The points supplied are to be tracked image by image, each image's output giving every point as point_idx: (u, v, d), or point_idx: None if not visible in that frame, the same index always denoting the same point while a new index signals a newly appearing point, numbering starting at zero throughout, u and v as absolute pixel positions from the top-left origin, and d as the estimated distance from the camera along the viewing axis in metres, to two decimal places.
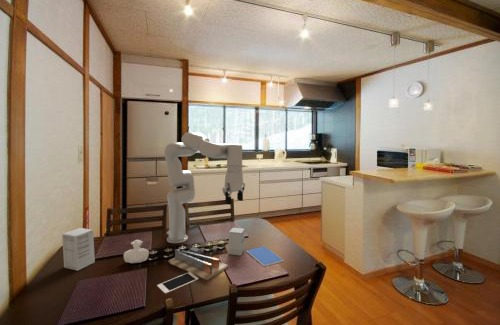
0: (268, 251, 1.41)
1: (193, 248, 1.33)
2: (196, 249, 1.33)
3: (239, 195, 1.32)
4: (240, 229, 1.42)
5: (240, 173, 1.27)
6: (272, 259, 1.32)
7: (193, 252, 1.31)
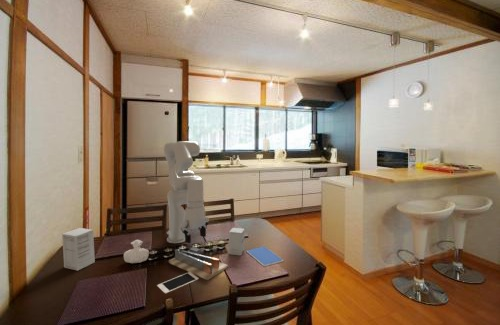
0: (268, 251, 1.41)
1: (193, 248, 1.33)
2: (196, 249, 1.33)
3: (202, 231, 1.24)
4: (240, 229, 1.42)
5: (201, 208, 1.20)
6: (272, 259, 1.32)
7: (193, 252, 1.31)
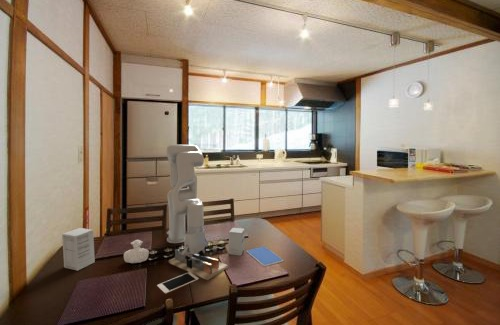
0: (268, 251, 1.41)
1: None
2: None
3: None
4: (240, 229, 1.42)
5: (201, 233, 1.21)
6: (272, 259, 1.32)
7: None
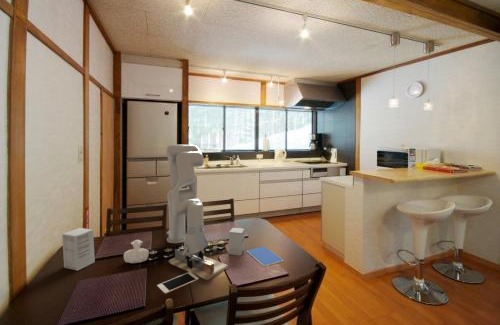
0: (268, 251, 1.41)
1: None
2: None
3: (200, 256, 1.25)
4: (240, 229, 1.42)
5: (201, 233, 1.21)
6: (272, 259, 1.32)
7: None
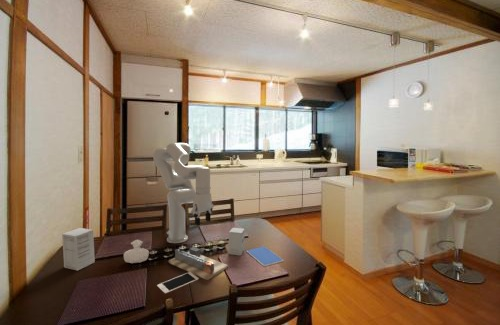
0: (268, 251, 1.41)
1: (193, 248, 1.33)
2: (196, 249, 1.33)
3: (207, 216, 1.39)
4: (240, 229, 1.42)
5: (208, 194, 1.35)
6: (272, 259, 1.32)
7: (193, 252, 1.31)
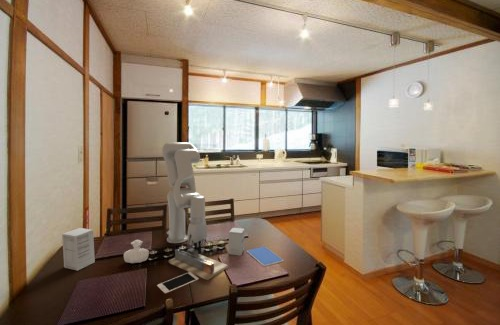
0: (268, 251, 1.41)
1: (191, 249, 1.32)
2: (194, 250, 1.31)
3: None
4: (240, 229, 1.42)
5: (203, 223, 1.33)
6: (272, 259, 1.32)
7: (191, 253, 1.30)
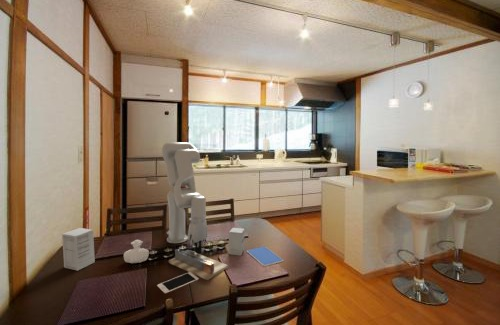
0: (268, 251, 1.41)
1: (187, 251, 1.30)
2: (190, 251, 1.29)
3: None
4: (240, 229, 1.42)
5: (204, 223, 1.34)
6: (272, 259, 1.32)
7: None
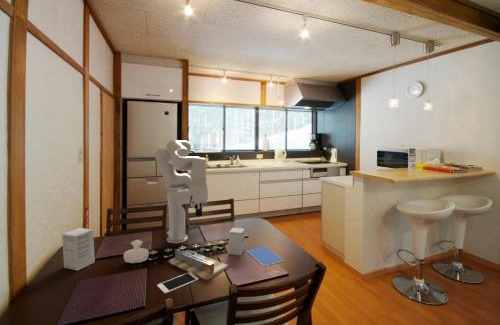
0: (268, 251, 1.41)
1: (187, 251, 1.30)
2: (190, 251, 1.29)
3: None
4: (240, 229, 1.42)
5: (204, 186, 1.32)
6: (272, 259, 1.32)
7: None
